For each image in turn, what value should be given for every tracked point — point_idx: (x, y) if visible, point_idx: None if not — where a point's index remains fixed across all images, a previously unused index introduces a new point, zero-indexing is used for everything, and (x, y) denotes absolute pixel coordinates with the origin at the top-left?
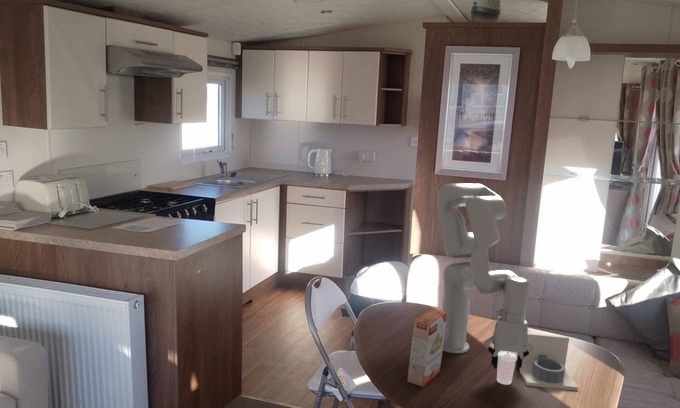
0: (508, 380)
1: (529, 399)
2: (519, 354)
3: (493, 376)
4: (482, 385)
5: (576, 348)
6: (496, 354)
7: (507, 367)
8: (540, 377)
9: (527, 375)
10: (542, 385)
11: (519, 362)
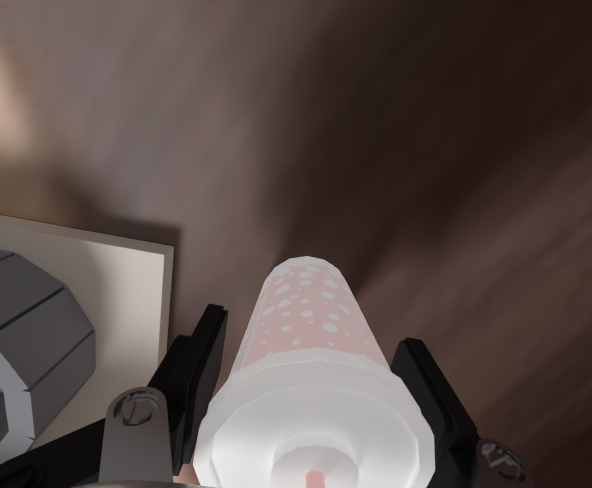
0: (299, 267)
1: (227, 46)
2: (164, 459)
3: None
4: (474, 244)
5: None
6: (489, 471)
7: (332, 317)
8: (50, 293)
9: (135, 338)
10: (67, 231)
11: (193, 358)
